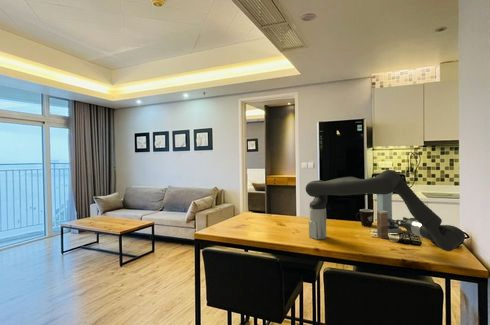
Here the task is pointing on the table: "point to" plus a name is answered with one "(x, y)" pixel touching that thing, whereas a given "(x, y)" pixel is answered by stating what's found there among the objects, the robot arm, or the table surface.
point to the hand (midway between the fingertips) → (395, 219)
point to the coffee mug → (366, 217)
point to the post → (385, 203)
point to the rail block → (382, 224)
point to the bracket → (394, 229)
